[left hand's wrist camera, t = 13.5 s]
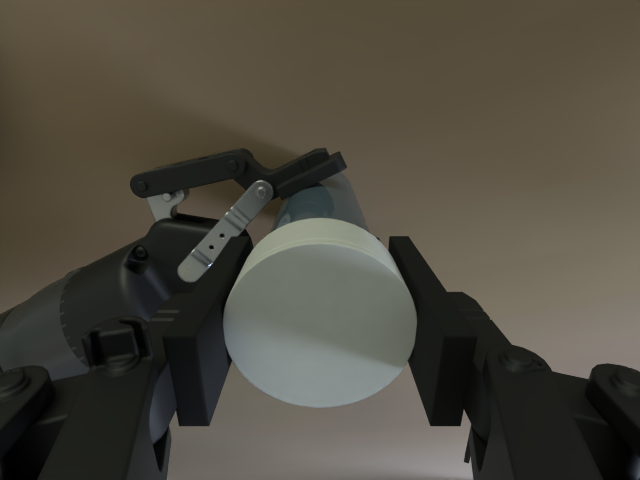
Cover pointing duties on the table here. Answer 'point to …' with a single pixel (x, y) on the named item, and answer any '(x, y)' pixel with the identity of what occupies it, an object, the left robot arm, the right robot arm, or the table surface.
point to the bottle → (322, 204)
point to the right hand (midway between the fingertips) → (362, 205)
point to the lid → (320, 315)
